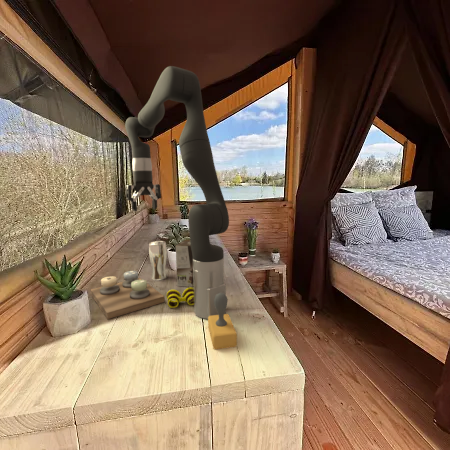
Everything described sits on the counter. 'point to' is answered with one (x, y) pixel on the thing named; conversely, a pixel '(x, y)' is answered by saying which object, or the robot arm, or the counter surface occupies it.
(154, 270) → the beer glass
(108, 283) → the button
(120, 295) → the button board
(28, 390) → the counter surface
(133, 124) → the robot arm
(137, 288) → the button
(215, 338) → the rubber stamp
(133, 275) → the button
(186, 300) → the opera glasses
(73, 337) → the counter surface
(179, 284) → the coffee box
